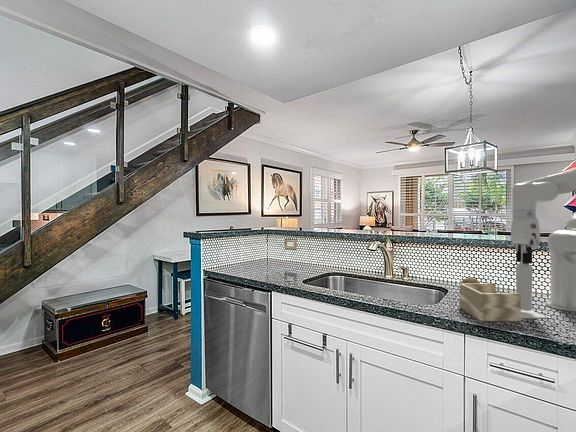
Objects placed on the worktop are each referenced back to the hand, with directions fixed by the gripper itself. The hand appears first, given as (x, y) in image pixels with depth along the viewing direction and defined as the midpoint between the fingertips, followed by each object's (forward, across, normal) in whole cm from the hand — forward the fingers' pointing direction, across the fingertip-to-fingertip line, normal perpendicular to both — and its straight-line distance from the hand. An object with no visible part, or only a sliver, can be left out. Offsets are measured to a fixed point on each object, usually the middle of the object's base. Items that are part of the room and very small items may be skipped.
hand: (524, 262), depth 122 cm
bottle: (+18, 0, 0) cm, 18 cm away
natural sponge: (+20, +19, +10) cm, 30 cm away
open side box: (+20, 0, +13) cm, 24 cm away
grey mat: (+20, 0, 0) cm, 20 cm away
